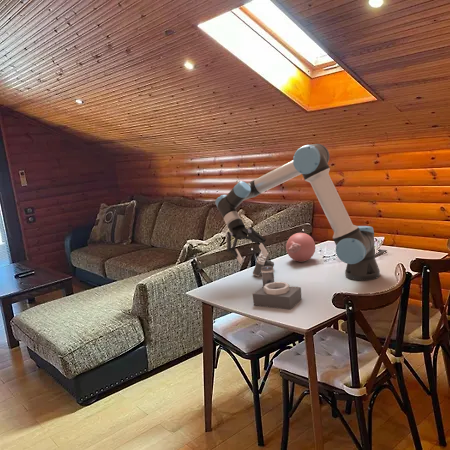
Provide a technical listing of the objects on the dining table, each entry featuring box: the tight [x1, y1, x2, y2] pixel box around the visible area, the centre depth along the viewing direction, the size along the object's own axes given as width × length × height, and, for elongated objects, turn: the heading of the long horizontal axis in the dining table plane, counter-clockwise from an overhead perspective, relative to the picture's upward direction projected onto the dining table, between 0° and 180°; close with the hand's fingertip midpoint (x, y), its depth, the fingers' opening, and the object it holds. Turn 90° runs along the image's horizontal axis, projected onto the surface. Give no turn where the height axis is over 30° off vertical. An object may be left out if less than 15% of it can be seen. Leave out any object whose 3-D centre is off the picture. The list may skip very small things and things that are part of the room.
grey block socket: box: [252, 281, 303, 310], centre depth 182 cm, size 16×12×7 cm
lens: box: [261, 266, 275, 287], centre depth 196 cm, size 6×6×11 cm
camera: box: [252, 250, 275, 277], centre depth 226 cm, size 9×16×10 cm, turn 170°
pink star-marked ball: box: [285, 232, 316, 263], centre depth 236 cm, size 15×20×15 cm
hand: (254, 258), depth 202 cm, fingers open, 13 cm apart
